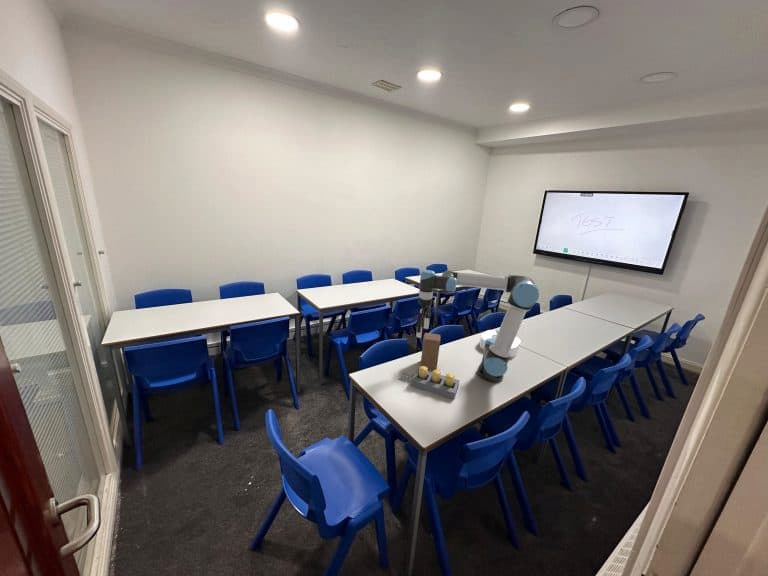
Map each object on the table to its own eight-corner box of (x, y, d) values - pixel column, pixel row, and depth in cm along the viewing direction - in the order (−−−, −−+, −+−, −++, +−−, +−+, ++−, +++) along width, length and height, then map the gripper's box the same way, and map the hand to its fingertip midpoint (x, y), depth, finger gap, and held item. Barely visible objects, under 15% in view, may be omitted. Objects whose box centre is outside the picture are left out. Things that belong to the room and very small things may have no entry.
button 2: (440, 378, 167) (441, 371, 165) (438, 383, 162) (439, 375, 161) (432, 376, 168) (433, 368, 167) (430, 380, 164) (431, 372, 163)
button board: (458, 386, 168) (459, 380, 167) (454, 399, 156) (455, 393, 155) (417, 374, 177) (418, 368, 176) (410, 386, 165) (411, 380, 164)
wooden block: (436, 371, 182) (440, 341, 176) (420, 368, 183) (423, 338, 177) (437, 362, 191) (440, 334, 185) (421, 360, 193) (424, 331, 187)
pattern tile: (414, 376, 174) (414, 375, 174) (410, 382, 168) (410, 381, 168) (403, 373, 177) (403, 372, 177) (399, 379, 171) (399, 378, 171)
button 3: (427, 375, 169) (428, 367, 168) (425, 379, 165) (426, 371, 164) (420, 372, 171) (420, 365, 170) (417, 376, 167) (418, 369, 165)
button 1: (454, 382, 164) (455, 374, 162) (452, 387, 160) (453, 379, 158) (445, 380, 165) (447, 372, 164) (444, 384, 161) (445, 376, 160)
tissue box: (487, 336, 233) (490, 317, 228) (521, 347, 219) (525, 327, 214) (476, 348, 213) (479, 327, 209) (512, 360, 200) (517, 338, 195)
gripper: (425, 291, 179) (422, 323, 185) (411, 303, 157) (408, 339, 163) (438, 293, 176) (434, 326, 182) (425, 305, 154) (421, 342, 160)
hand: (422, 332), depth 173 cm, fingers open, 13 cm apart
